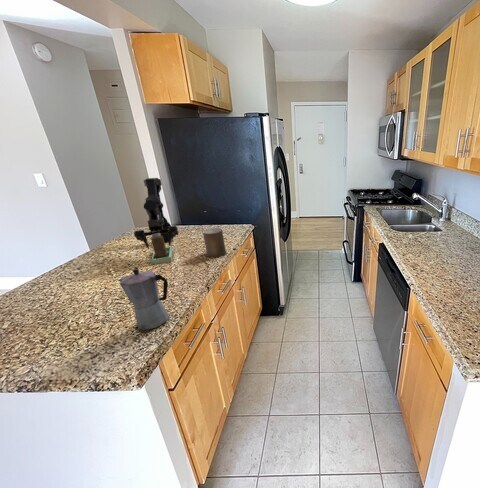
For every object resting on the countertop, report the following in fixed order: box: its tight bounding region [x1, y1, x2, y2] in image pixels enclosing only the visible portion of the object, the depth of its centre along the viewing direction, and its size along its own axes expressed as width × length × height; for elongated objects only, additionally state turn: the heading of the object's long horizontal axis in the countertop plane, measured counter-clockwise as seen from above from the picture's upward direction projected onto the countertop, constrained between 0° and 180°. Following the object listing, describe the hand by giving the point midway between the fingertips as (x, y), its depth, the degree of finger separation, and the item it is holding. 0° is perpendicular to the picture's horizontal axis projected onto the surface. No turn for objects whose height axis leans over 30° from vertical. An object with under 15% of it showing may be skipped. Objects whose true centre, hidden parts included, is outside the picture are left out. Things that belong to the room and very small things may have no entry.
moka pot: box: [117, 268, 169, 331], centre depth 85 cm, size 10×15×20 cm, turn 95°
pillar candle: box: [202, 227, 227, 258], centre depth 139 cm, size 10×10×15 cm
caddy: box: [150, 246, 173, 265], centre depth 137 cm, size 16×8×3 cm, turn 28°
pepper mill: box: [150, 233, 168, 259], centre depth 131 cm, size 5×5×14 cm
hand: (159, 247), depth 131 cm, fingers open, 9 cm apart
